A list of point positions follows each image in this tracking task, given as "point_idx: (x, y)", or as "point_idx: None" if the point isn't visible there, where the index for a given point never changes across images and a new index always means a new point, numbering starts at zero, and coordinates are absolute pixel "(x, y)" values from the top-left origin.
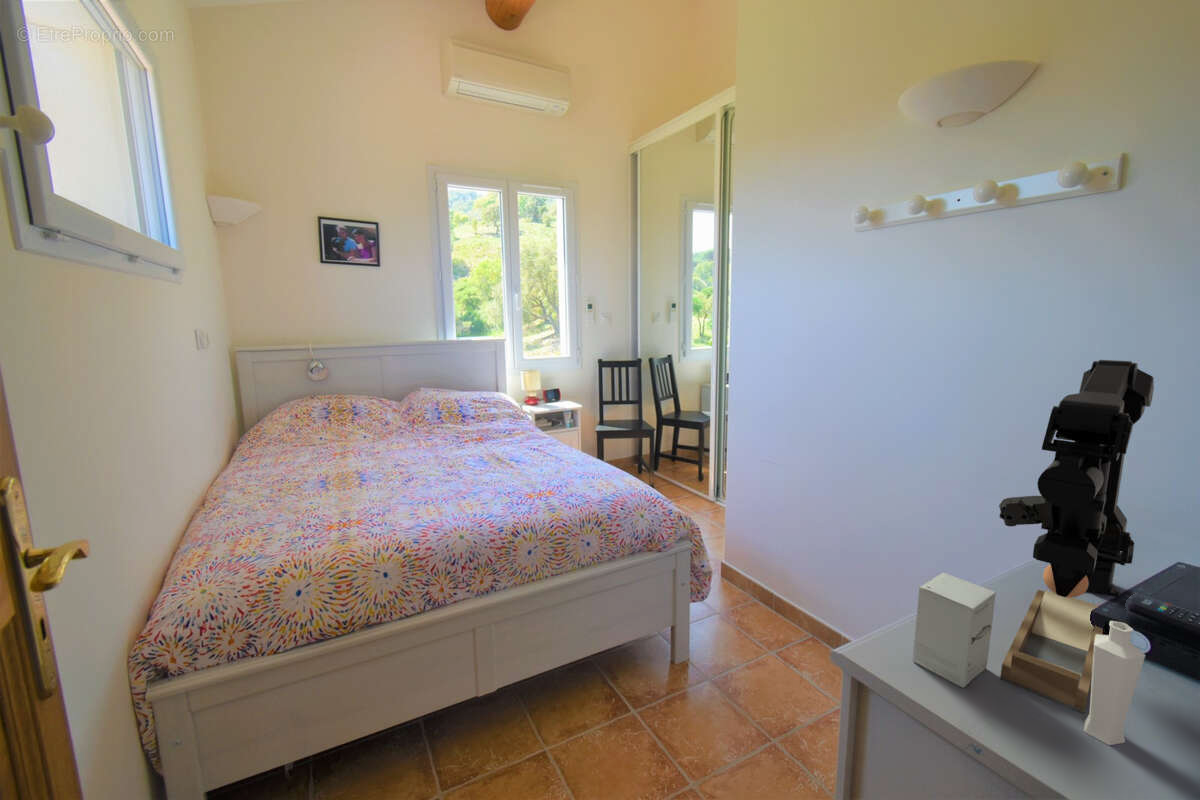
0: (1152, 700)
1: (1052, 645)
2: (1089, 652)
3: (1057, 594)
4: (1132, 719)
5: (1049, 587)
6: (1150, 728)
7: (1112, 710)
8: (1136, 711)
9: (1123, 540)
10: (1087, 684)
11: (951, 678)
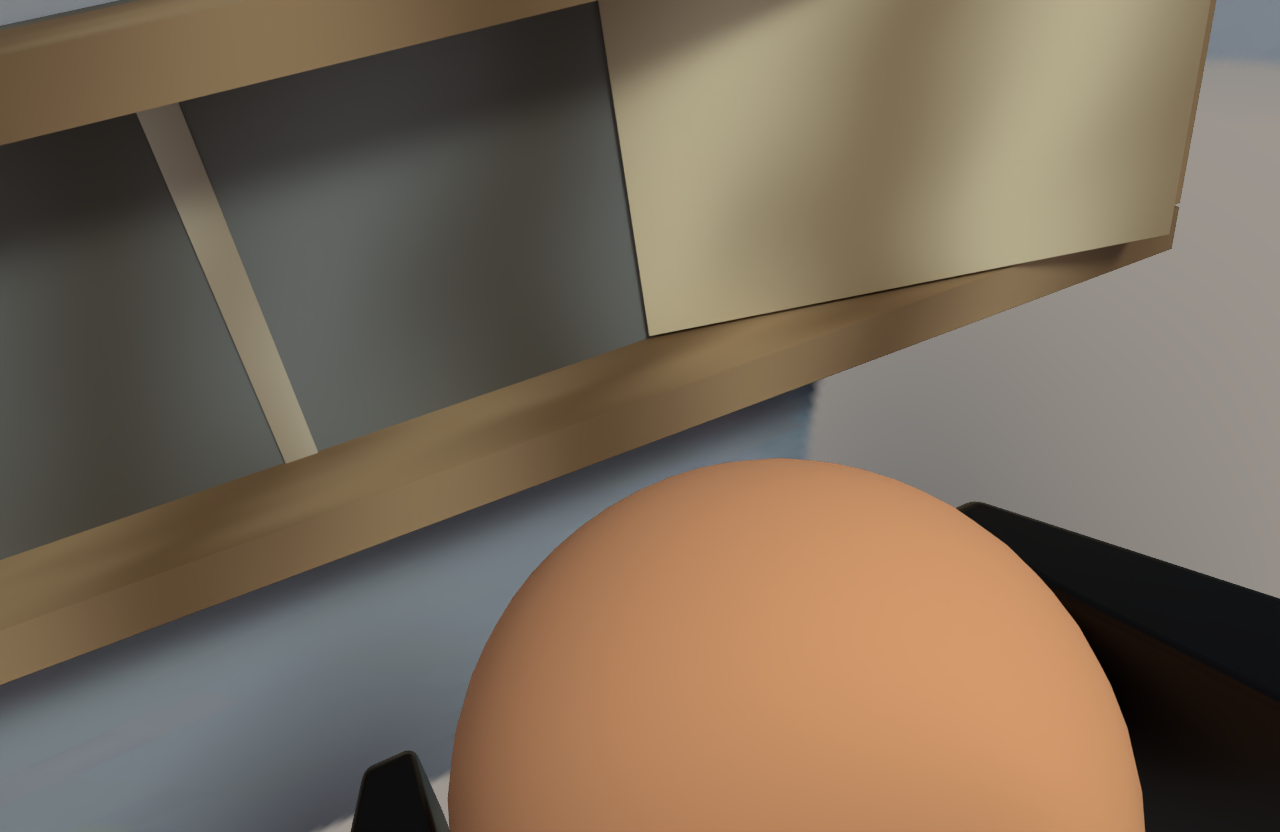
0: (447, 667)
1: (533, 171)
2: (516, 454)
3: (372, 772)
4: (142, 734)
5: (501, 622)
6: (154, 790)
7: None
8: (251, 700)
9: None
10: (30, 663)
11: None
